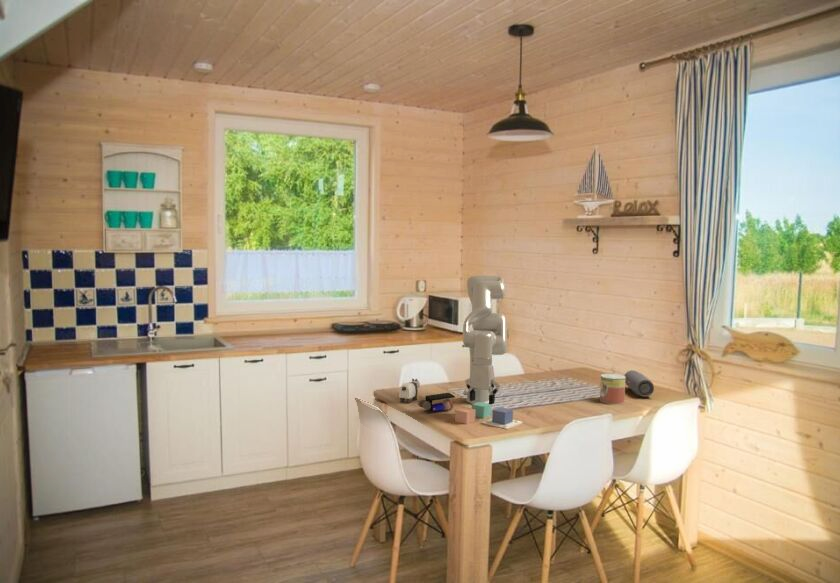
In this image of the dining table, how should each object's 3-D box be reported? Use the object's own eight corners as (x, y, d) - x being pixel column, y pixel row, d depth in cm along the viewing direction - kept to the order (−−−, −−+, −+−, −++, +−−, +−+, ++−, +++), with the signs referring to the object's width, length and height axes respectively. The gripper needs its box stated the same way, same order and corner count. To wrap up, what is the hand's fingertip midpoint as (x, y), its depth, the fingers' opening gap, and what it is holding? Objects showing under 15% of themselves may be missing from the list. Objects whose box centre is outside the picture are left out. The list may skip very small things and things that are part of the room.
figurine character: (425, 418, 278) (456, 411, 284) (423, 401, 277) (455, 394, 284) (418, 414, 285) (449, 407, 291) (416, 397, 284) (448, 390, 290)
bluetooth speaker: (622, 388, 336) (622, 369, 335) (640, 388, 336) (641, 369, 335) (635, 399, 313) (635, 378, 312) (654, 399, 313) (655, 378, 312)
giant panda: (408, 404, 296) (408, 383, 295) (397, 402, 298) (398, 382, 297) (423, 397, 308) (423, 377, 308) (413, 396, 311) (413, 376, 310)
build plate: (481, 423, 267) (482, 410, 266) (498, 417, 276) (498, 404, 276) (507, 429, 259) (507, 415, 259) (522, 422, 268) (523, 409, 268)
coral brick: (454, 421, 269) (455, 409, 269) (463, 418, 274) (463, 406, 274) (466, 424, 266) (466, 412, 265) (475, 421, 270) (475, 409, 270)
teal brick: (471, 415, 279) (471, 404, 278) (479, 413, 283) (479, 401, 283) (483, 418, 275) (483, 406, 274) (491, 415, 279) (491, 404, 279)
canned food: (594, 399, 311) (595, 374, 310) (615, 397, 315) (616, 373, 314) (608, 405, 301) (609, 379, 300) (629, 403, 304) (630, 378, 303)
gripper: (461, 360, 279) (460, 400, 280) (495, 365, 268) (494, 406, 269) (471, 359, 285) (470, 398, 286) (505, 363, 274) (504, 403, 275)
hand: (481, 402), depth 277 cm, fingers open, 9 cm apart
